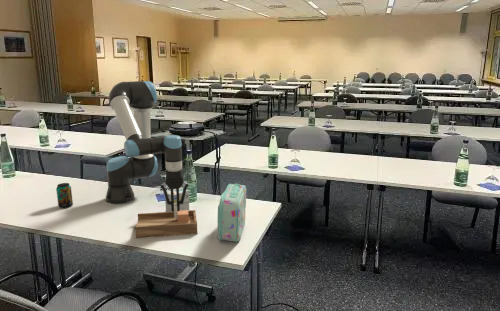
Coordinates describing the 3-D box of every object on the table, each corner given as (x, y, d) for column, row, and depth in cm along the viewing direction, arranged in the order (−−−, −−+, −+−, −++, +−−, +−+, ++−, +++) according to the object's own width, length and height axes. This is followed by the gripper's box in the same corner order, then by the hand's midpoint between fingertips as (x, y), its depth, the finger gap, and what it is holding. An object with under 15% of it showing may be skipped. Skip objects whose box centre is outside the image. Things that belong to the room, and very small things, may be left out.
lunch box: (226, 219, 195) (225, 178, 190) (246, 220, 194) (247, 178, 189) (215, 245, 170) (215, 197, 164) (239, 246, 169) (240, 198, 163)
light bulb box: (182, 206, 212) (181, 187, 209) (189, 209, 207) (189, 190, 204) (165, 211, 205) (164, 191, 202) (172, 215, 200) (171, 195, 197)
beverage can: (67, 209, 207) (64, 187, 204) (55, 208, 208) (52, 186, 205) (75, 204, 213) (73, 183, 210) (64, 203, 215) (61, 182, 212)
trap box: (138, 223, 190) (137, 213, 189) (195, 219, 195) (195, 210, 194) (135, 238, 175) (134, 227, 174) (197, 233, 180) (197, 223, 178)
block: (177, 218, 190) (177, 210, 189) (188, 217, 191) (188, 210, 190) (177, 222, 185) (177, 214, 184) (188, 222, 186) (188, 214, 185)
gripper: (159, 172, 177) (161, 221, 183) (188, 171, 179) (190, 219, 185) (159, 167, 184) (162, 215, 190) (188, 166, 186) (189, 213, 192)
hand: (175, 217), depth 188 cm, fingers closed
